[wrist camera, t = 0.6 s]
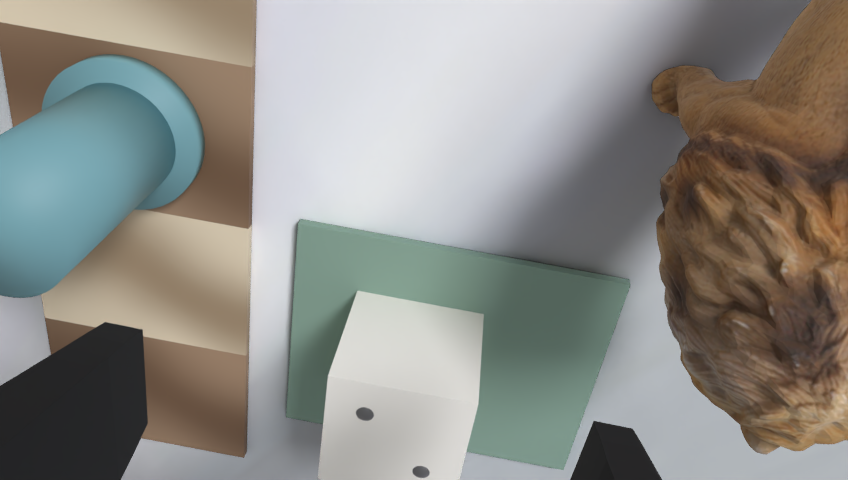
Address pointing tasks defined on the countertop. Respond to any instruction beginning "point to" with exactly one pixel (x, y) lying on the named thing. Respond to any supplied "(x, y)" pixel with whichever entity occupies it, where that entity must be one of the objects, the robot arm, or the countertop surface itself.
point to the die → (401, 391)
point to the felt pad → (502, 330)
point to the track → (172, 223)
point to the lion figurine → (764, 235)
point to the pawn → (90, 165)
